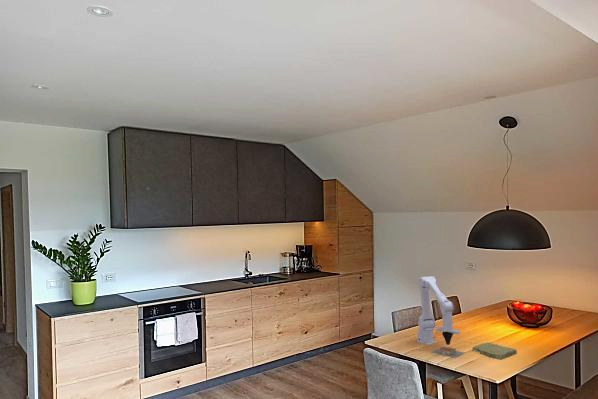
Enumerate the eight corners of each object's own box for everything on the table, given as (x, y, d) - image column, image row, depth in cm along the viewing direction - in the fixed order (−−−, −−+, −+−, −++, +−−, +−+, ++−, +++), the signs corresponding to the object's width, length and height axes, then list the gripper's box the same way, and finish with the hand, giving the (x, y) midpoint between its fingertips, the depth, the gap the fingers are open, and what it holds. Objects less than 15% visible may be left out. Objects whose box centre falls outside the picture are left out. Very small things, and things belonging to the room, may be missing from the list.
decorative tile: (486, 346, 288) (486, 340, 288) (517, 354, 272) (517, 348, 272) (469, 352, 277) (469, 346, 277) (500, 361, 261) (500, 355, 261)
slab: (438, 348, 275) (450, 351, 269) (443, 346, 280) (455, 348, 274) (438, 352, 275) (450, 355, 269) (443, 350, 280) (455, 352, 274)
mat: (430, 353, 277) (430, 352, 277) (440, 348, 286) (440, 347, 286) (455, 358, 265) (455, 358, 265) (465, 353, 274) (465, 352, 274)
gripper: (433, 321, 277) (433, 343, 277) (455, 325, 266) (456, 348, 266) (438, 319, 282) (439, 340, 281) (461, 322, 271) (461, 345, 271)
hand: (448, 344), depth 274 cm, fingers closed
